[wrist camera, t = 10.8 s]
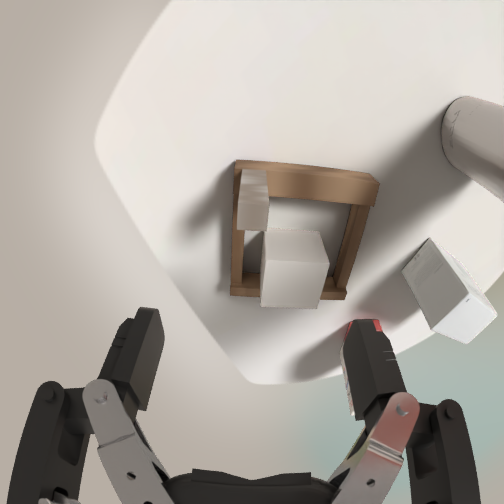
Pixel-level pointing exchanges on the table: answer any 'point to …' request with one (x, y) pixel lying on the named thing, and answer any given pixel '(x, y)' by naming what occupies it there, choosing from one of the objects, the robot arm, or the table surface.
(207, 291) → the table surface
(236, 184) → the pull frame
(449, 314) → the skincare box
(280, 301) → the white cube
